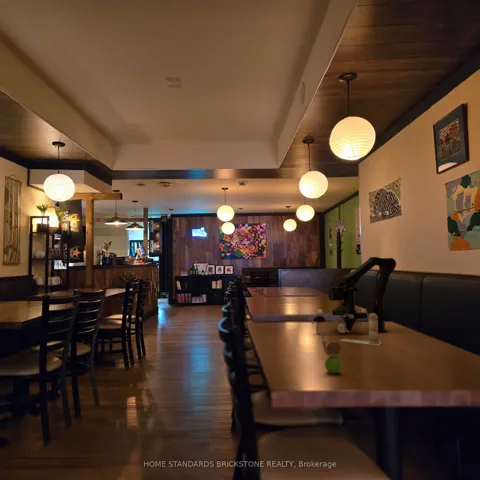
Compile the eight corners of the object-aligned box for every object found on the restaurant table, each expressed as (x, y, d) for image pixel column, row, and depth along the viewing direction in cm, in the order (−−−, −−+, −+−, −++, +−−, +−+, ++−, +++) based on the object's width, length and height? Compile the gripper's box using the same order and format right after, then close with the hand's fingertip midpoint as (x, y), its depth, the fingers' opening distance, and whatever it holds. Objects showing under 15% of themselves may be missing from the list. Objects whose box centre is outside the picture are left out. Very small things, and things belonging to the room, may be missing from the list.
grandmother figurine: (327, 334, 193) (326, 308, 194) (328, 335, 189) (327, 309, 190) (311, 333, 194) (311, 308, 194) (312, 335, 190) (311, 309, 191)
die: (343, 330, 202) (343, 322, 202) (350, 332, 198) (349, 323, 198) (338, 331, 199) (337, 323, 200) (344, 332, 196) (344, 324, 196)
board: (383, 343, 169) (383, 342, 170) (379, 346, 164) (379, 345, 164) (342, 339, 180) (342, 338, 180) (337, 342, 174) (337, 340, 174)
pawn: (372, 341, 172) (372, 312, 173) (382, 343, 168) (381, 313, 168) (364, 342, 169) (364, 312, 170) (374, 345, 165) (373, 314, 166)
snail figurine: (320, 371, 128) (319, 334, 129) (338, 370, 128) (338, 334, 129) (325, 376, 123) (324, 338, 123) (344, 375, 123) (343, 337, 124)
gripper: (324, 299, 200) (324, 329, 199) (352, 302, 184) (353, 335, 183) (339, 298, 206) (339, 327, 205) (367, 301, 190) (368, 333, 189)
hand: (349, 330), depth 196 cm, fingers closed
